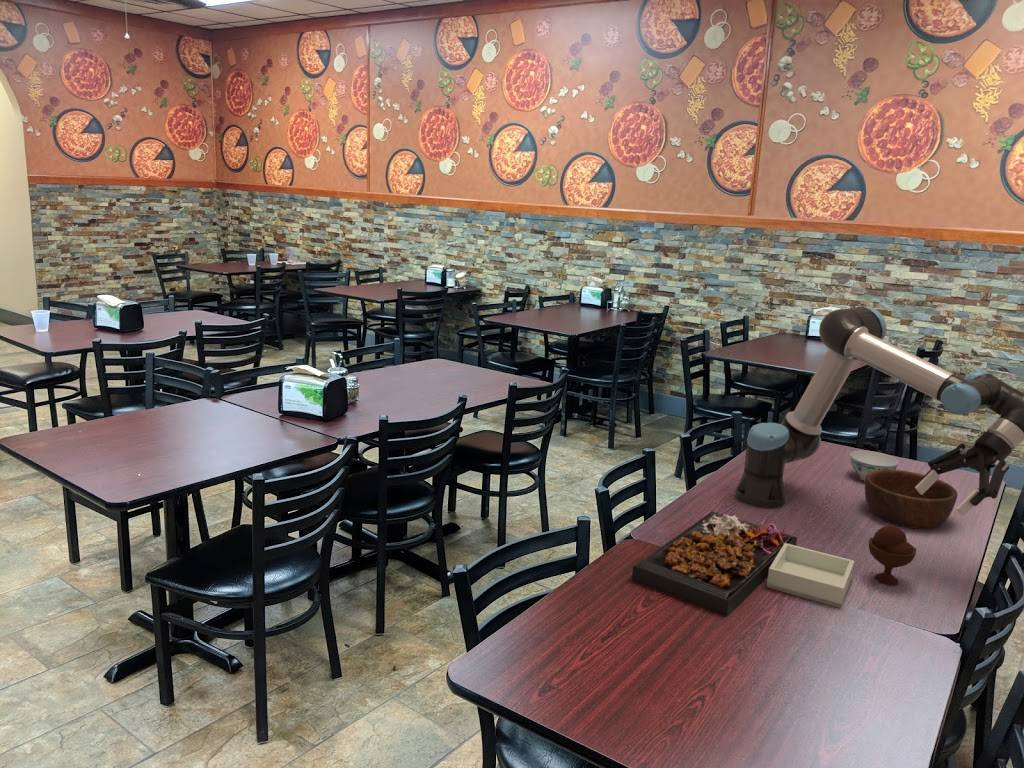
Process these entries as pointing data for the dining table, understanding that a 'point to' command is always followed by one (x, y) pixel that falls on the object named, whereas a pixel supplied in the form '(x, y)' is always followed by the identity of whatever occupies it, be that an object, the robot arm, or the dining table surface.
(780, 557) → the bin
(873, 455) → the chinaware
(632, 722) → the dining table surface
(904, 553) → the ice cream bowl
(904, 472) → the wooden bowl
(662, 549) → the food platter
